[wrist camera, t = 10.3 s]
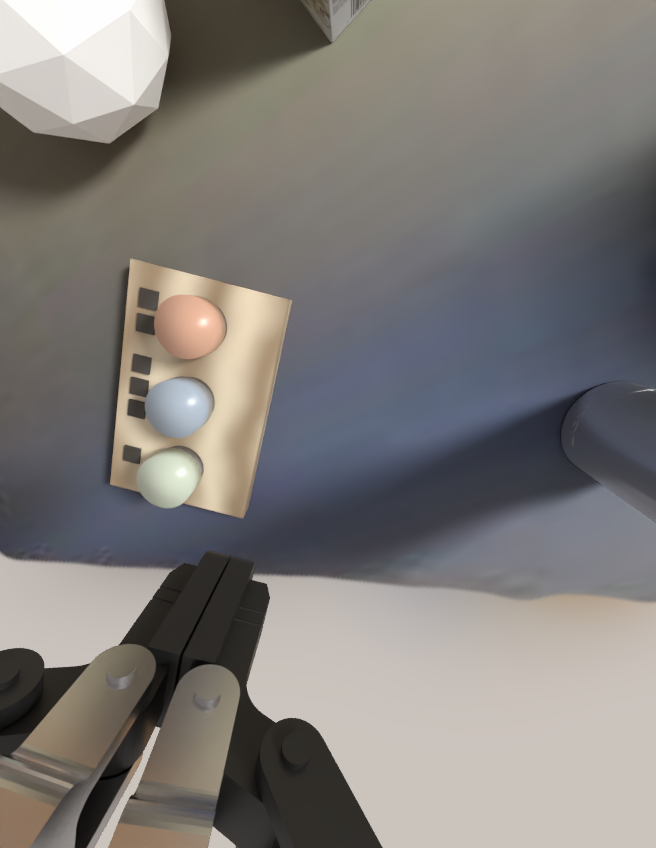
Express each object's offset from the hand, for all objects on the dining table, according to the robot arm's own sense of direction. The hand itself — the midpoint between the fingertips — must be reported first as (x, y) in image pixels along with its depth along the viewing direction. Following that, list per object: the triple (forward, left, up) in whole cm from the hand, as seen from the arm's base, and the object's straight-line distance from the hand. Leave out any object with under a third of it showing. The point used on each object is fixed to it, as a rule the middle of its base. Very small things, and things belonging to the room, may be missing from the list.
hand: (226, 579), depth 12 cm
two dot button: (+11, -4, -24) cm, 26 cm away
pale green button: (+11, +10, -24) cm, 28 cm away
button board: (+11, +3, -27) cm, 29 cm away
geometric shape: (+22, -22, -27) cm, 41 cm away
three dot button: (+11, +3, -24) cm, 26 cm away
